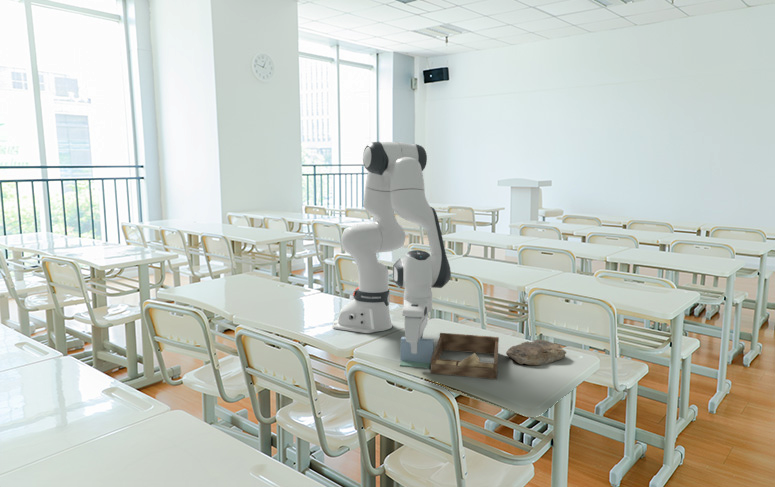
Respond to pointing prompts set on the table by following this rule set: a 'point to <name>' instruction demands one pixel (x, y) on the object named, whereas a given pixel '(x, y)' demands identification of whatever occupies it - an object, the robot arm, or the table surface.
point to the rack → (466, 345)
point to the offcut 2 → (484, 366)
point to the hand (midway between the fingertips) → (416, 347)
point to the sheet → (423, 350)
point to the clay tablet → (536, 352)
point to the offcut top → (470, 361)
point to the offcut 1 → (446, 363)
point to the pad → (415, 364)
